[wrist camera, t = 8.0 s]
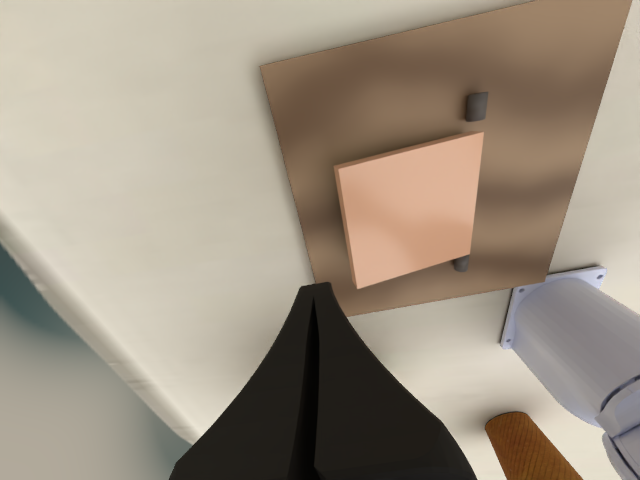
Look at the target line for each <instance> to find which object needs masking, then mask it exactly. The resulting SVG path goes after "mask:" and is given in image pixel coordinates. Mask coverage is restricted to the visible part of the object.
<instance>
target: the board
mask: <svg viewBox="0 0 640 480" xmlns="http://www.w3.org/2000/svg"><path fill="white" fill-rule="evenodd" d="M631 3H632V0H536V1H532V2H528V3H524V4H519V5H515V6H511V7H507V8H502V9H498V10H494V11H490V12H485V13H481V14H477V15H473V16H469V17H464V18H460V19H456V20H452V21H447V22H443V23H439V24H435V25H431V26H426V27H422V28H418V29H414V30H409V31H405V32H401V33H397V34H393V35H388V36H384V37H380V38H376V39H371V40H367V41H363V42H359V43H355V44H350V45H346V46H342V47H338V48H333V49H329V50H325V51H321V52H317V53H312V54H308V55H304V56H300V57H295V58H291V59H287V60H283V61H279V62H274V63H270V64H266V65H262V66H260V69H261V73H262V77H263V81H264V84H265V88H266V92H267V96H268V100H269V104H270V108H271V112H272V115H273V119H274V123H275V127H276V131H277V135H278V139H279V142H280V146H281V150H282V154H283V158H284V162H285V166H286V169H287V173H288V177H289V181H290V185H291V189H292V193H293V196H294V200H295V204H296V208H297V212H298V216H299V220H300V224H301V227H302V231H303V235H304V239H305V243H306V247H307V251H308V254H309V258H310V262H311V266H312V270H313V274H314V278H315V281H316V284H317V283H323V282H330V283H331V284H332V289H333V292H334V295H335V297H336V299H337V301H338V303H339V305H340V307H341V309H342V310H343V312H344V314H345V316H346V317H349V316H354V315H360V314H366V313H371V312H377V311H383V310H388V309H394V308H400V307H406V306H411V305H417V304H423V303H428V302H434V301H440V300H445V299H451V298H457V297H462V296H468V295H474V294H479V293H485V292H491V291H496V290H502V289H508V288H513V287H519V286H525V285H531V284H536V283H542V282H545V279H546V276H547V273H548V269H549V266H550V263H551V260H552V257H553V253H554V250H555V247H556V244H557V241H558V237H559V234H560V231H561V228H562V225H563V221H564V218H565V215H566V212H567V209H568V205H569V202H570V199H571V196H572V193H573V189H574V186H575V183H576V180H577V176H578V173H579V170H580V167H581V164H582V160H583V157H584V154H585V151H586V148H587V144H588V141H589V138H590V135H591V132H592V128H593V125H594V122H595V119H596V116H597V112H598V109H599V106H600V103H601V99H602V96H603V93H604V90H605V87H606V83H607V80H608V77H609V74H610V71H611V67H612V64H613V61H614V58H615V55H616V51H617V48H618V45H619V42H620V39H621V35H622V32H623V29H624V26H625V22H626V19H627V16H628V13H629V10H630V6H631ZM470 131H479V132H484V137H483V146H482V154H481V163H480V171H479V180H478V189H477V197H476V206H475V214H474V223H473V231H472V240H471V248H470V254H468V255H465V256H462V257H459V258H456V259H452V260H449V261H446V262H443V263H440V264H436V265H433V266H430V267H427V268H424V269H420V270H417V271H414V272H411V273H408V274H404V275H401V276H398V277H395V278H392V279H388V280H385V281H382V282H379V283H376V284H372V285H369V286H366V287H363V288H360V289H357V288H356V286H355V284H354V283H353V280H352V274H351V268H350V262H349V256H348V250H347V244H346V238H345V232H344V226H343V220H342V214H341V208H340V202H339V196H338V190H337V184H336V178H335V172H334V166H335V165H339V164H343V163H347V162H351V161H355V160H359V159H363V158H367V157H371V156H375V155H379V154H383V153H387V152H391V151H394V150H398V149H402V148H406V147H410V146H414V145H418V144H422V143H426V142H430V141H434V140H438V139H442V138H446V137H450V136H454V135H458V134H462V133H466V132H470Z"/></svg>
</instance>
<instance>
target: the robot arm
mask: <svg viewBox="0 0 640 480" xmlns="http://www.w3.org/2000/svg"><path fill="white" fill-rule="evenodd" d="M606 273H607V268H605V267H603V266H597V267H591V268H585V269H580V270H574V271H568V272H563V273H557V274H551V275H547V276H546V279H545V282H542V283H536V284H531V285H525V286H519V287H514V289H513V293H512V298H511V302H510V306H509V310H508V314H507V319H506V323H505V327H504V331H503V335H502V340H501V344H500V346H501V347H502V348H503V349H511V348H512V349H513V350H514V351H515V353H516V354H517V355H518V356H519V357H520V358H521V360H522V361H523V362H524V363H525V364H526V365H527V367H528V368H529V369H530V370H531V371H532V373H533V374H534V375H535V376H536V377H537V378H538V380H539V381H540V382H541V383H542V384H543V385H544V387H545V388H546V389H547V390H548V391H549V392H550V394H551V395H552V396H553V397H554V398H555V399H556V400H557V402H558V403H559V404H560V405H562V406H563V407H564V408H565V409H566V410H568V411H569V412H570V413H572V414H573V415H575V416H576V417H578V418H580V419H581V420H583V421H585V422H587V423H589V424H591V425H594V426H597V427H600V428H603V429H604V430H605V431H606V432H605V433H604V434H603V436H602V441H603V445H604V447H605V449H606V453H607V456H608V458H609V460H610V462H611V464H612V466H613V467H614V469H615V470H616V472H617V473H618V475H619V476H620V477H621V479H622V480H640V315H639V314H637V313H636V312H634V311H632V310H631V309H629V308H628V307H626V306H624V305H623V304H621V303H619V302H618V301H616V300H615V299H613V298H611V297H610V296H608V295H607V294H605V293H603V292H602V291H600V290H599V288H600V286H601V284H602V282H603V279H604V277H605V275H606ZM169 480H477V478H476V475H475V473H474V471H473V469H472V467H471V466H470V464H469V462H468V460H467V458H466V457H465V455H464V453H463V452H462V450H461V448H460V447H459V445H458V444H457V442H456V441H455V439H454V438H453V437H452V435H451V434H450V432H449V431H448V429H447V428H446V427H445V425H444V424H443V422H442V421H441V420H440V419H438V418H437V417H436V416H435V415H434V414H433V413H432V412H430V411H429V410H428V409H427V408H426V407H425V406H424V405H423V404H422V403H420V402H419V401H418V400H417V399H416V398H415V397H414V396H413V395H412V394H411V393H410V392H409V391H408V390H407V389H406V388H405V387H404V386H403V385H402V384H401V383H399V381H398V380H397V379H396V378H395V377H394V376H393V375H392V374H391V373H390V372H389V371H388V370H387V369H386V368H385V367H384V366H383V364H382V363H381V362H380V361H379V360H378V359H377V358H376V357H375V355H374V354H373V353H372V352H371V351H370V349H369V348H368V347H367V346H366V344H365V343H364V342H363V341H362V339H361V338H360V337H359V335H358V334H357V332H356V331H355V330H354V328H353V327H352V325H351V324H350V322H349V321H348V319H347V317H346V316H345V314H344V312H343V310H342V309H341V307H340V305H339V303H338V301H337V299H336V297H335V295H334V292H333V289H332V284H331V283H330V282H323V283H317V284H312V285H306V286H301V287H300V289H299V291H298V294H297V296H296V299H295V301H294V304H293V306H292V308H291V311H290V313H289V315H288V317H287V319H286V321H285V323H284V325H283V327H282V329H281V331H280V333H279V334H278V336H277V338H276V340H275V342H274V344H273V345H272V347H271V349H270V350H269V352H268V353H267V355H266V357H265V358H264V360H263V361H262V363H261V364H260V366H259V367H258V369H257V370H256V371H255V373H254V374H253V376H252V377H251V378H250V380H249V381H248V382H247V384H246V385H245V386H244V388H243V389H242V390H241V392H240V393H239V394H238V395H237V397H236V398H235V399H234V400H233V401H232V403H231V404H230V405H229V406H228V407H227V408H226V410H225V411H224V412H223V413H222V414H221V416H220V417H219V418H218V419H217V420H216V421H215V423H214V424H213V425H212V426H211V427H210V428H209V429H208V430H207V431H206V432H205V433H204V434H203V435H202V437H201V438H200V439H199V440H198V441H197V442H196V443H195V444H194V445H193V446H192V447H191V448H190V449H189V450H188V451H187V452H186V453H185V454H184V455H183V456H182V457H181V458H180V459H179V460H178V461H177V462H176V464H175V466H174V469H173V471H172V473H171V475H170V478H169Z"/></svg>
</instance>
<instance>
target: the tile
mask: <svg viewBox="0 0 640 480" xmlns="http://www.w3.org/2000/svg"><path fill="white" fill-rule="evenodd" d="M483 137H484V132H479V131H470V132H466V133H462V134H458V135H454V136H450V137H446V138H442V139H438V140H434V141H430V142H426V143H422V144H418V145H414V146H410V147H406V148H402V149H398V150H394V151H391V152H387V153H383V154H379V155H375V156H371V157H367V158H363V159H359V160H355V161H351V162H347V163H343V164H339V165H335V166H334V172H335V178H336V184H337V190H338V196H339V202H340V208H341V214H342V220H343V226H344V232H345V238H346V244H347V250H348V256H349V262H350V268H351V274H352V280H353V283H354V284H355V286H356V288H357V289H360V288H363V287H366V286H369V285H372V284H376V283H379V282H382V281H385V280H388V279H392V278H395V277H398V276H401V275H404V274H408V273H411V272H414V271H417V270H420V269H424V268H427V267H430V266H433V265H436V264H440V263H443V262H446V261H449V260H452V259H456V258H459V257H462V256H465V255H468V254H470V248H471V240H472V231H473V223H474V214H475V206H476V197H477V189H478V180H479V171H480V163H481V154H482V146H483Z"/></svg>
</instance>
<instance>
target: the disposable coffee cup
mask: <svg viewBox="0 0 640 480" xmlns="http://www.w3.org/2000/svg"><path fill="white" fill-rule="evenodd" d="M485 430H486V432H487V435H488V437H489V439H490V441H491V444H492V446H493V448H494V451H495V453H496V455H497V458H498V460H499V462H500V465H501V467H502V469H503V471H504V474H505V476H506V478H507V480H583V479H582V477H581V476H580V475H579V474H578V473H577V472H576V471H575V469H574V468H573V467H572V466H571V465H570V464H569V462H568V461H567V460H566V459H565V458H564V457H563V455H562V454H561V453H560V452H559V451H558V450H557V448H556V447H555V446H554V445H553V444H552V443H551V442H550V440H549V439H548V438H547V437H546V436H545V435H544V433H543V432H542V431H541V430H540V429H539V428H538V426H537V425H536V424H535V423H534V422H533V421H532V419H531V418H530V417H529V416H528V415H527V414H525V413H521V412H512V413H506V414H503V415H500V416H497V417H495V418H493V419H492V420H490V421H489V422H488V423H487V424H486V427H485Z"/></svg>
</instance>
